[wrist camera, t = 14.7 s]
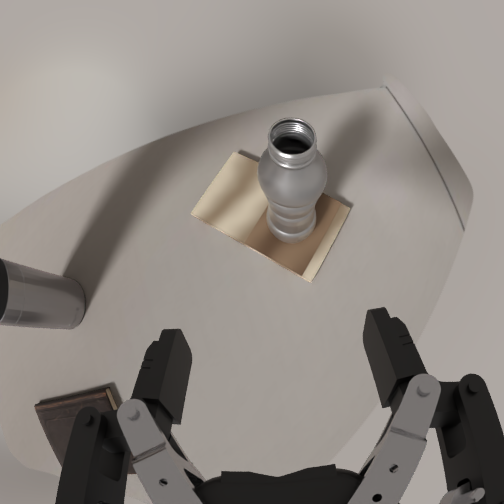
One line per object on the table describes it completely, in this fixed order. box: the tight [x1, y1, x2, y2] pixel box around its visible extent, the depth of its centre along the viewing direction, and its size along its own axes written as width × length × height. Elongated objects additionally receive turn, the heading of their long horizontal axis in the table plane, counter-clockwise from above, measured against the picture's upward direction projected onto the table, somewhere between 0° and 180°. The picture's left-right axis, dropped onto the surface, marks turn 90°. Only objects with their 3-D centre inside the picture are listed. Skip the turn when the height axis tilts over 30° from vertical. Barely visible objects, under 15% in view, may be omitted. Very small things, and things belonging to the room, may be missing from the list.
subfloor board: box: [191, 152, 351, 283], centre depth 40 cm, size 20×12×1 cm, turn 58°
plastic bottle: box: [257, 118, 328, 243], centre depth 29 cm, size 6×7×20 cm
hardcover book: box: [34, 387, 137, 474], centre depth 35 cm, size 16×23×2 cm
